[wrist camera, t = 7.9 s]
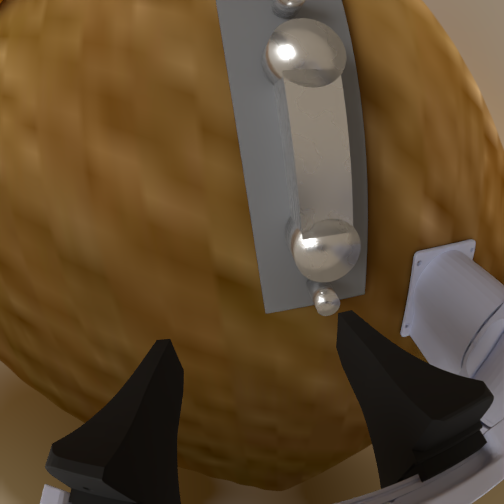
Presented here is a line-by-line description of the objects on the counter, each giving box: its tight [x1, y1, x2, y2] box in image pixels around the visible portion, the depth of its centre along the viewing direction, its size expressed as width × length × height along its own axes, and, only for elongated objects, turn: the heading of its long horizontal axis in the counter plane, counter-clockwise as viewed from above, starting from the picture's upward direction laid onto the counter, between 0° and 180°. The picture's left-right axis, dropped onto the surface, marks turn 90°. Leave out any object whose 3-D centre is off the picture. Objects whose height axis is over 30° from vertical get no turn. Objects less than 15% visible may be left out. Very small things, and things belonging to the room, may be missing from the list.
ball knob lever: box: [261, 18, 361, 282], centre depth 15 cm, size 15×4×3 cm, turn 8°
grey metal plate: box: [216, 0, 368, 316], centre depth 16 cm, size 23×8×4 cm, turn 8°
